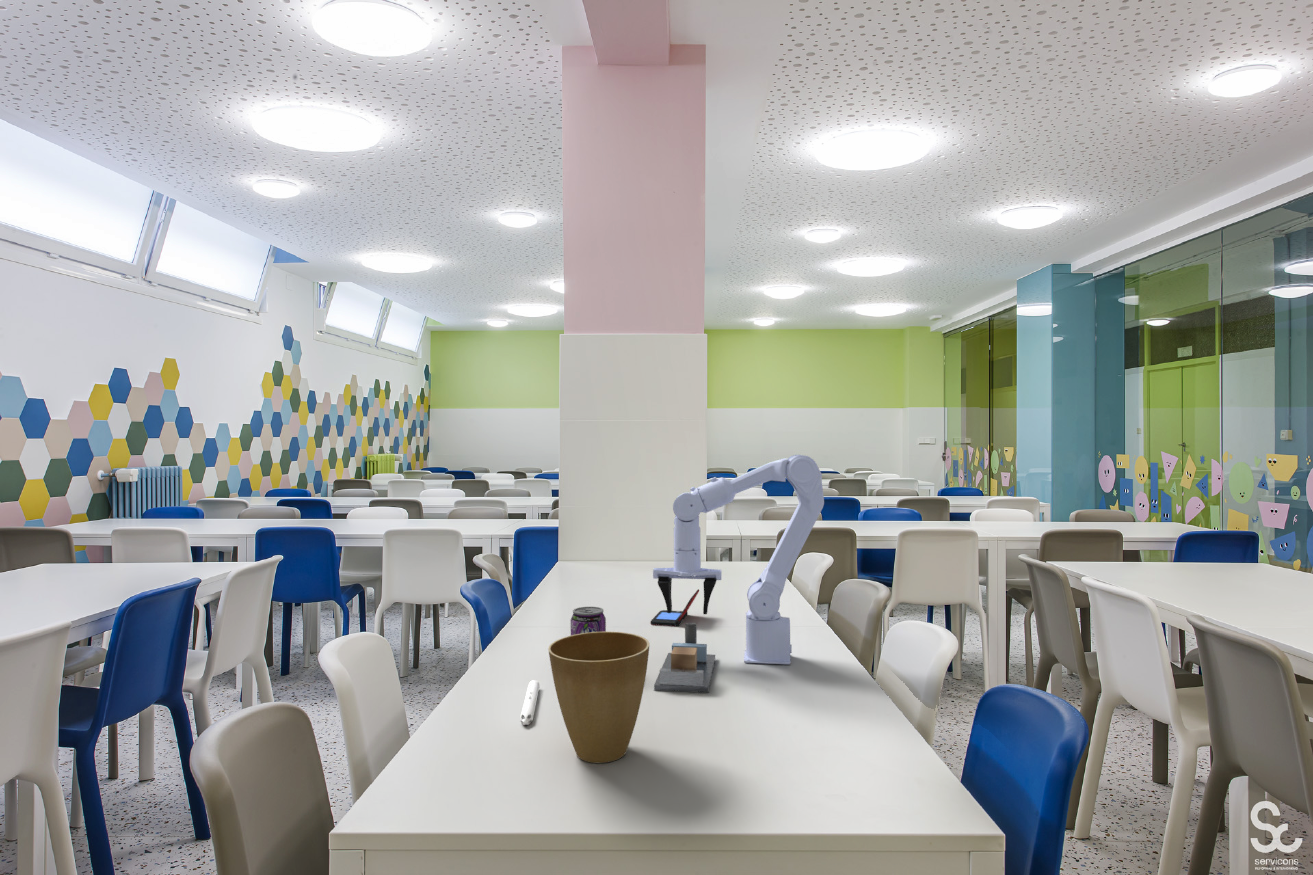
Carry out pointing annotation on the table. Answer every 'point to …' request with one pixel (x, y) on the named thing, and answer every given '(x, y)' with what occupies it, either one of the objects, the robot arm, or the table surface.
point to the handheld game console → (672, 615)
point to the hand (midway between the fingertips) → (687, 612)
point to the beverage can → (587, 620)
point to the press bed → (685, 677)
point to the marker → (529, 703)
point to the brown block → (684, 658)
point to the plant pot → (599, 690)
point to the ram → (693, 642)
